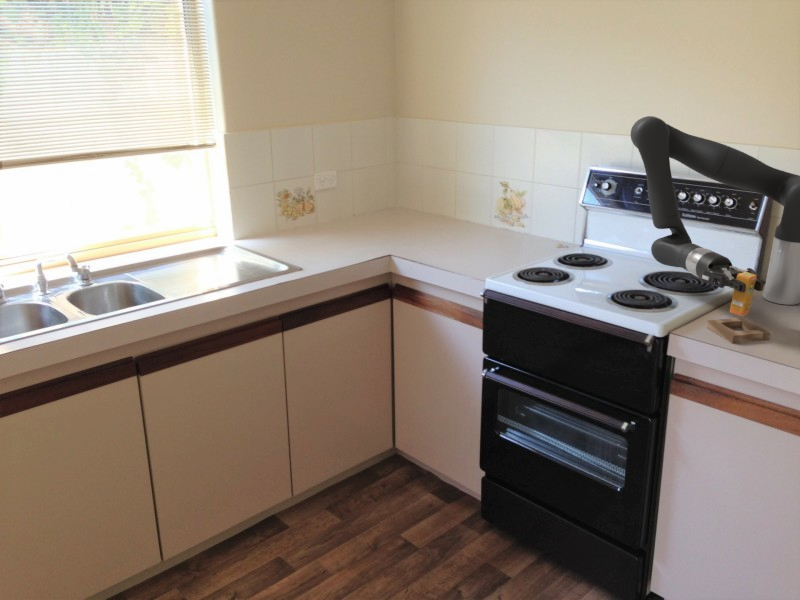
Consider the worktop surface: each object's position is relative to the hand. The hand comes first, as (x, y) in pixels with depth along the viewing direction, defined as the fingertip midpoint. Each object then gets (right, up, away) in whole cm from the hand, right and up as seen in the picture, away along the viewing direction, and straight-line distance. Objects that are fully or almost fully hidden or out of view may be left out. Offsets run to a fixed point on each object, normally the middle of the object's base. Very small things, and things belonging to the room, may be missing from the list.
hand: (752, 287), depth 169 cm
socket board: (-1, -11, +7) cm, 13 cm away
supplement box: (-1, -6, +5) cm, 8 cm away
